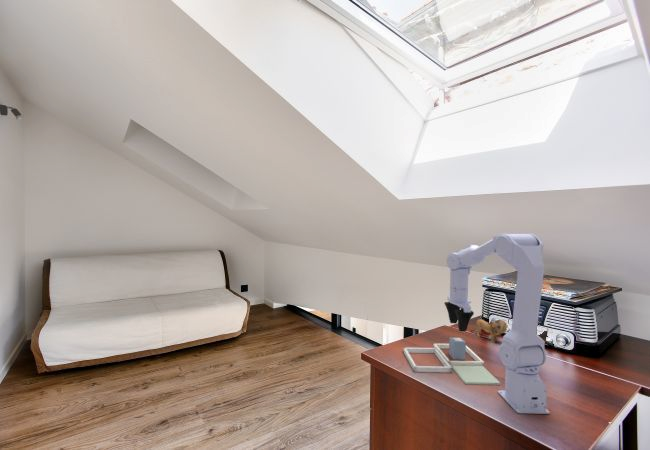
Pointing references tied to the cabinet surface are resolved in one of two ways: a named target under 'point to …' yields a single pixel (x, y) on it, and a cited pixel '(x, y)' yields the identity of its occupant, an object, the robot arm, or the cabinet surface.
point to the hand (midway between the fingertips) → (457, 326)
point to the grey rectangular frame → (427, 368)
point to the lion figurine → (491, 328)
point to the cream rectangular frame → (460, 363)
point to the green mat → (475, 375)
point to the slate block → (457, 348)
